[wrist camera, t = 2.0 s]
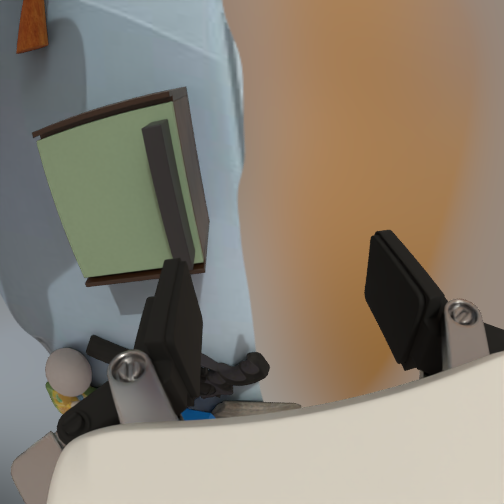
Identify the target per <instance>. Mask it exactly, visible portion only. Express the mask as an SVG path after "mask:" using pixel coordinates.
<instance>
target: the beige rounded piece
mask: <svg viewBox="0 0 504 504" xmlns="http://www.w3.org/2000/svg"><path fill="white" fill-rule="evenodd" d="M45 371H46V377H47V380H48V382H49V384H50V385H51V387H52V388H53V389H54V390H55V391H57V392H58V397H59V398H60V399H61V400H62V402H63V404H64V406H66V405H67V404H68V403H69V404H70V406H71V407H73V406H74V405H76V404H77V403H78V402H80V401H73V402H71V401H72V400H73V399H74V396H78V395H81V394H83V393H84V392H85V391H86V390H87V389H88V387H89V386H90V383H91V380H92V371H91V367H90V364H89V362H88V360H87V359H86V358H85V357H84V356H83V355H82V354H81V353H80V352H79V351H77V350H74V349H71V348H60V349H58V350H56V351H54V352H53V353H52V354H51V355H50V356H49V357H48V360H47V362H46V367H45Z"/></svg>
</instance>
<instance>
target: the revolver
mask: <svg viewBox="0 0 504 504" xmlns="http://www.w3.org/2000/svg"><path fill="white" fill-rule="evenodd" d="M127 350H129V349H126V348H124V347H121V346H119V345H116V344H114V343H112V342H109V341H107V340H104V339H102V338H100V337H98V336H95V335H92V336H91V338H90V341H89V344H88V347H87V350H86V353H87V355H89V356H91V357H93V358H96V359H98V360H101V361H103V362H105V363H108V364H110V362H111V361H112V359H113V358H114V357H115V356H117V355H118V354H120V353H122V352H124V351H127ZM201 366H203V367H205V368H203V367H201V371H200V395H199V396H201V398H203V399H205V398H208V397H214V396H216V397H219V398H220V396H221V394H222V395H231V394H233V385H234V386H243V385H249V384H253V383H256V382H258V381H260V380H262V379H264V378H265V377H266V376H267V375H268V372H269V369H270V366H269V364H268V363H267V361H266V360H265V359H264V357H263V356H262V355H261V354H260V353H258V352H252V353H248V354H247V360H245V361H241V362H240V363H239V364H238V365H237V366H229V365H227V364H224V363H217V362H216V361H214V360H212V359H211V358H209V357H208V356H206V355H204V354H202V353H201ZM208 368H209V369H211V370H208ZM194 399H196V398H194Z"/></svg>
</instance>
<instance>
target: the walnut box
mask: <svg viewBox="0 0 504 504" xmlns="http://www.w3.org/2000/svg"><path fill="white" fill-rule="evenodd" d="M171 101H172V102H173V105H174V111H175V117H176V123H177V128H178V134H179V140H180V145H181V150H182V156H183V161H184V166H185V172H186V177H187V182H188V187H189V192H190V197H191V201H192V206H193V211H194V216H195V221H196V225H197V230H198V234H199V239H200V244H201V248H202V252H203V257H204V261H203V262H202V263H194V265H193V270H189V272H190V274H198V273H205V268H206V255H207V243H208V232H209V222H210V221H209V216H208V211H207V206H206V200H205V195H204V189H203V184H202V178H201V173H200V167H199V162H198V156H197V150H196V144H195V138H194V132H193V126H192V120H191V114H190V108H189V101H188V95H187V88H186V87H181V88H176V89H171V90H166V91H161V92H157V93H152V94H148V95H144V96H140V97H136V98H132V99H128V100H124V101H121V102H117V103H113V104H110V105H107V106H103V107H100V108H97V109H93V110H90V111H87V112H84V113H81V114H78V115H75V116H73V117H70V118H67V119H65V120H62V121H59V122H57V123H54V124H52V125H49V126H47V127H45V128H42V129H40V130H37V131H35V132H33V133H32V135H33V138H34V137H37V136H39V135H40V137H41V139H43V138H45V137H48V136H51V135H53V134H56V133H59V132H62V131H65V130H68V129H71V128H73V127H76V126H80V125H83V124H86V123H89V122H92V121H95V120H99V119H102V118H106V117H109V116H113V115H116V114H120V113H124V112H128V111H132V110H136V109H140V108H144V107H148V106H152V105H157V104H161V103H166V102H171ZM161 270H162V268H156V269H149V270H141V271H133V272H126V273H118V274H110V275H103V276H95V277H88V279H87V281H86V283H85V285H86V287H92V286H100V285H109V284H117V283H126V282H134V281H142V280H150V279H159V278H160V274H161Z"/></svg>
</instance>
